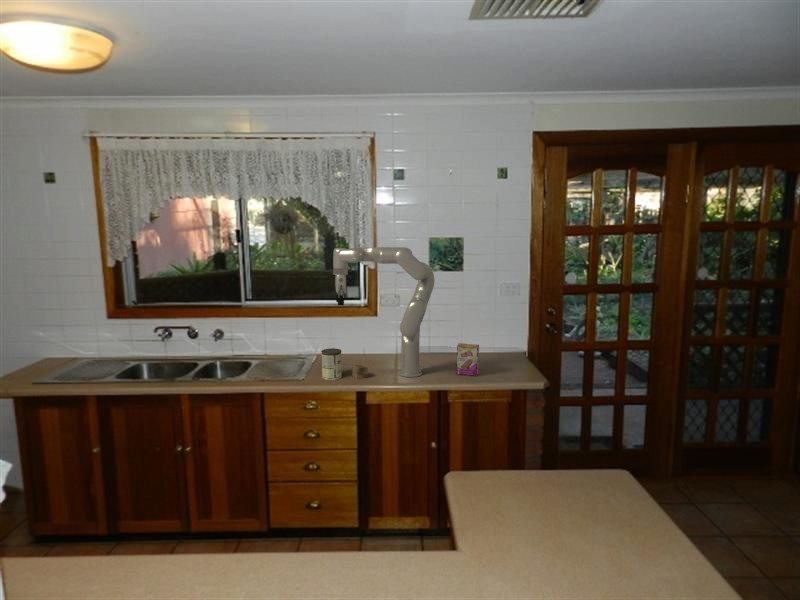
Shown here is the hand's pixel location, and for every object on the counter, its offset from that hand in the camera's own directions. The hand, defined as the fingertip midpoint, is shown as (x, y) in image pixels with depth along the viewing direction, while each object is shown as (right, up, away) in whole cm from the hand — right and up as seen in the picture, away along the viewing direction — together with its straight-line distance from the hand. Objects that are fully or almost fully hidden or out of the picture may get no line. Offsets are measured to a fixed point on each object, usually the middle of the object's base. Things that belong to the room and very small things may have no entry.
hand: (340, 303), depth 270 cm
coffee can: (-4, -39, -4) cm, 39 cm away
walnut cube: (+11, -38, -4) cm, 40 cm away
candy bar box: (+68, -38, +2) cm, 78 cm away
